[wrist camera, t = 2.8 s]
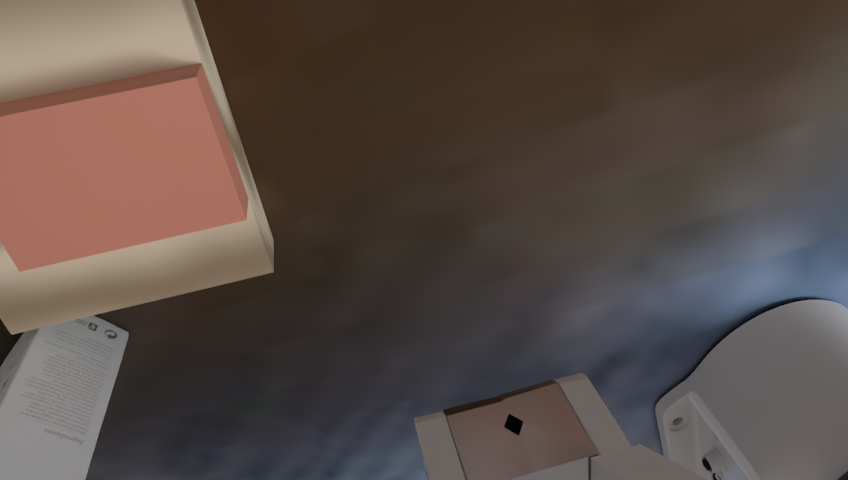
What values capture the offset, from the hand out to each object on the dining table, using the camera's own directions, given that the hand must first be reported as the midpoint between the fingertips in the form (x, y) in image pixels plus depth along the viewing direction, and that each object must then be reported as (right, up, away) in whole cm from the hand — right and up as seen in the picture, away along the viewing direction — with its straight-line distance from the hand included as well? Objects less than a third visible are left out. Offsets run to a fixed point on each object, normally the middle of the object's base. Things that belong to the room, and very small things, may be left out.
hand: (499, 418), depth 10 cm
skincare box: (-20, -3, +22) cm, 30 cm away
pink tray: (-14, +6, +14) cm, 21 cm away
